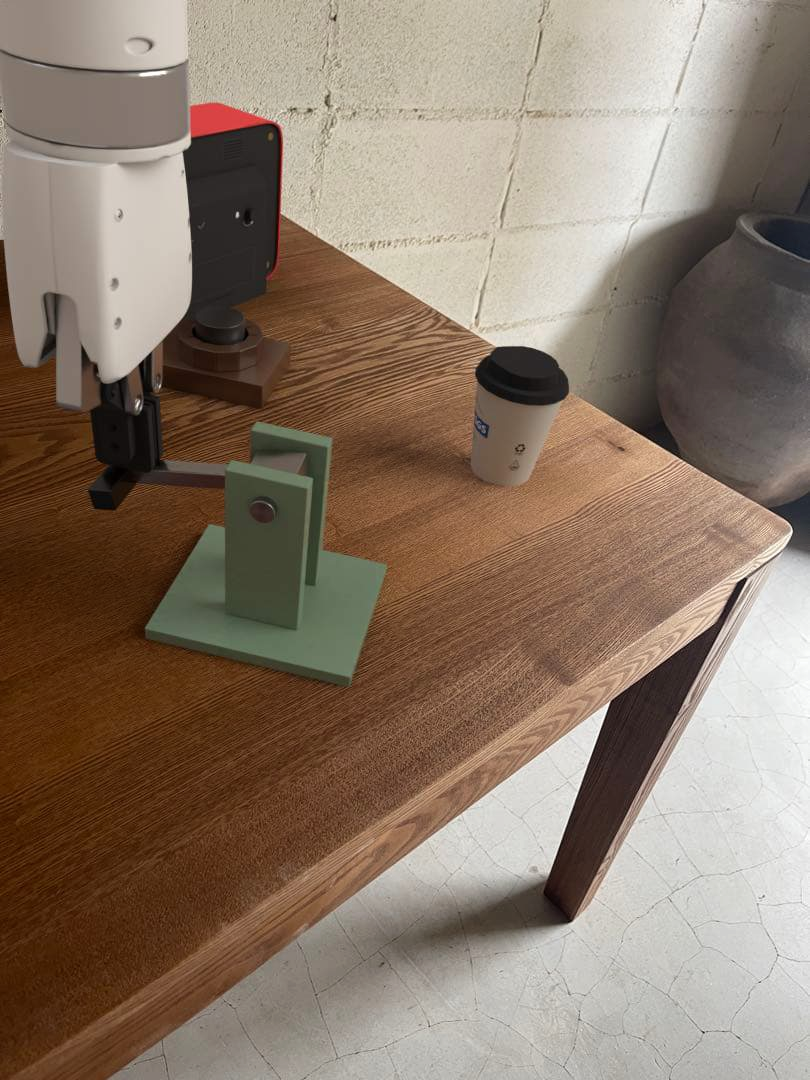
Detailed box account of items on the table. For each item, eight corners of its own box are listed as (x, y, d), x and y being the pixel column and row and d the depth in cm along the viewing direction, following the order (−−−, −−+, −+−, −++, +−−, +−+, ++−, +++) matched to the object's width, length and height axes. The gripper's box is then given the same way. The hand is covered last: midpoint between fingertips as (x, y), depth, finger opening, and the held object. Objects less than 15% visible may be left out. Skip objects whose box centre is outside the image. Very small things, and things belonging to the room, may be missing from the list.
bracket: (145, 646, 49) (131, 480, 42) (209, 540, 57) (206, 384, 50) (348, 695, 49) (370, 534, 41) (384, 581, 56) (409, 429, 49)
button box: (145, 384, 71) (142, 340, 69) (182, 342, 77) (181, 300, 75) (261, 409, 70) (263, 366, 68) (290, 365, 77) (292, 324, 74)
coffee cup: (549, 465, 70) (581, 354, 63) (533, 512, 64) (566, 396, 58) (466, 441, 71) (490, 330, 64) (444, 486, 65) (468, 369, 59)
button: (187, 341, 70) (187, 321, 69) (206, 321, 73) (205, 302, 72) (235, 351, 70) (235, 331, 69) (251, 331, 73) (251, 311, 72)
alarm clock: (293, 286, 89) (302, 124, 79) (143, 346, 76) (131, 159, 66) (226, 256, 93) (226, 97, 83) (71, 308, 79) (49, 125, 69)
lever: (96, 517, 47) (84, 480, 45) (143, 458, 51) (133, 423, 50) (291, 533, 45) (284, 495, 43) (321, 470, 49) (316, 434, 48)
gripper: (96, 53, 42) (125, 384, 54) (-101, 123, 31) (-10, 525, 42) (243, 81, 42) (240, 409, 53) (100, 163, 30) (136, 559, 42)
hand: (130, 459), depth 48 cm, fingers closed
